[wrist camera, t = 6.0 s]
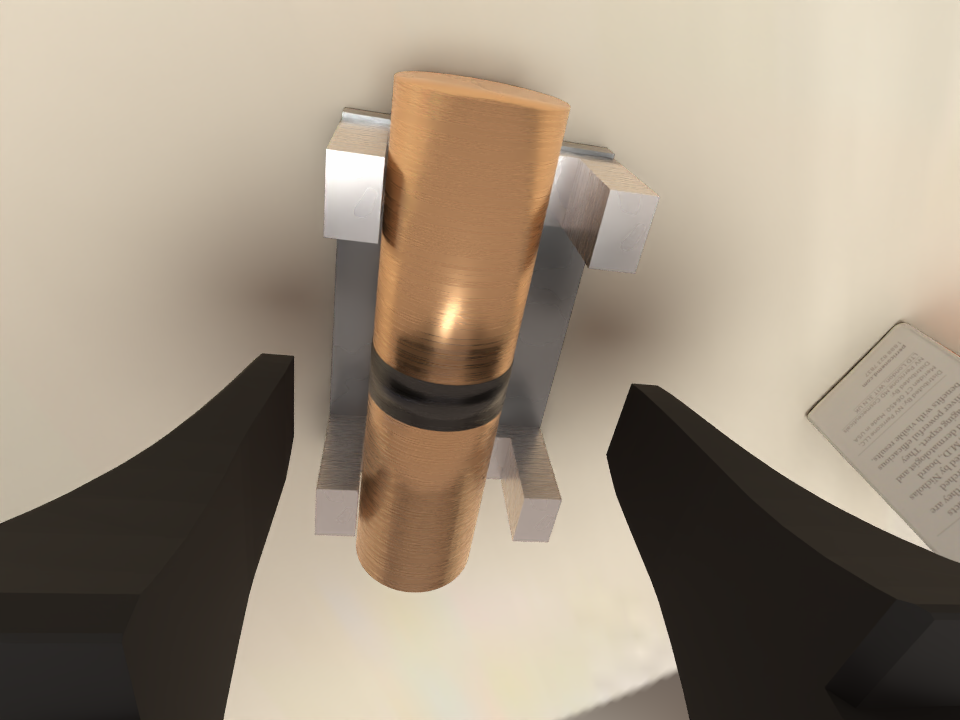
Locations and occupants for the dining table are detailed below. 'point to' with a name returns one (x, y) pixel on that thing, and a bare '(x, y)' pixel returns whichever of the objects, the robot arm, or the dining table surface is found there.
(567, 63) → the dining table surface
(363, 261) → the cradle
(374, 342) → the tube
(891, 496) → the skincare box
